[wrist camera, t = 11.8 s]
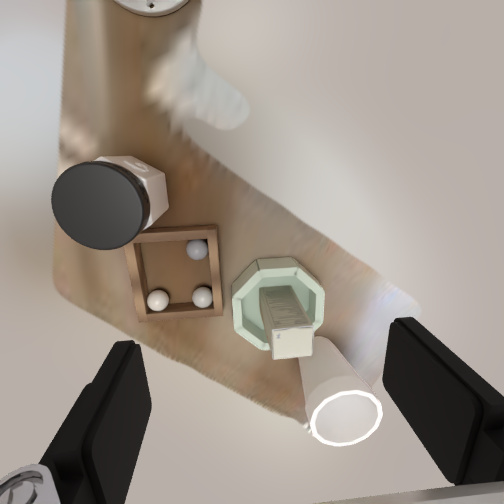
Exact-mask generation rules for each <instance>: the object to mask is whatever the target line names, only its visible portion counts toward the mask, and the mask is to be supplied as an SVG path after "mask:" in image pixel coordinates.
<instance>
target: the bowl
mask: <svg viewBox="0 0 504 504" xmlns="http://www.w3.org/2000/svg"><path fill="white" fill-rule="evenodd" d="M285 285H291V286H292V288H293V290H294V292H295V293H296V295H297V297H298V299H299V301H300V303H301V304H302V306H303V308H304V310H305V312H306V313H307V315H308V317H309V319H310V321H311V322H312V324H313V326H314V331H315V330H316V329H317V328H319V327H320V326H321V325H322V323H323V314H324V296H325V291H324V289H323V288H322V286H321V285H320V283H319V282H318V281H317V279H316V278H315V277H314V276H313V275H312V274H311V273H309V272H308V271H307V270H306V269H305V268H304V267H303V266H302V265H300V264H299V263H298V262H297V261H296V260H295V259H294V258H291V257H283V258H268V259H257V261H256V260H255V261H254V262H253V263H252V264H251V265H250V266H249V267H248V268H247V269H246V270H245V271H244V272H243V273H242V274H241V275H240V276H239V277H238V278H237V279H236V280H235V282H234V283H233V284H232V304H233V319H234V330H235V332H237V333H238V334H239V335H241V336H242V337H244V338H245V339H246V340H248V341H249V342H250V343H252V344H253V345H255V346H256V347H257V348H259V349H260V350H261V349H262V350H270V347H269V344H268V340H267V336H266V332H265V329H264V325H263V321H262V318H261V314H260V307H259V288H262V287H272V286H285Z"/></svg>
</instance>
